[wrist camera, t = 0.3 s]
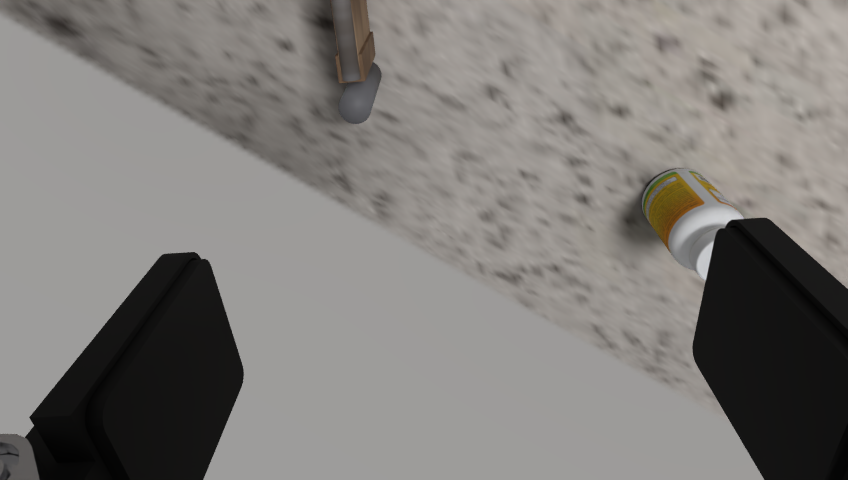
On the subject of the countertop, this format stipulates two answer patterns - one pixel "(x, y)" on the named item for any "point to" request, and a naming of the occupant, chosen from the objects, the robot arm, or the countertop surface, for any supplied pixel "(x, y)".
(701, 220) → the supplement bottle
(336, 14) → the gate
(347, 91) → the post
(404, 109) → the countertop surface
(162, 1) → the countertop surface
